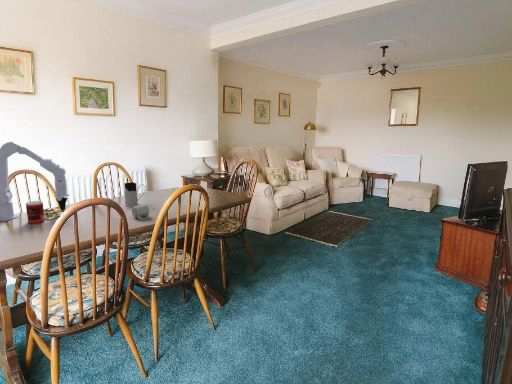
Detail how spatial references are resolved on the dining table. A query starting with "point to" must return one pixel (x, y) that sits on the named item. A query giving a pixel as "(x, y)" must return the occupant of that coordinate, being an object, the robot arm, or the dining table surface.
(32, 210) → the canned food
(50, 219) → the cap plate
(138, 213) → the ceramic mug
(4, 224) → the dining table surface
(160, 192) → the dining table surface
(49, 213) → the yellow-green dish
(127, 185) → the glass holder
